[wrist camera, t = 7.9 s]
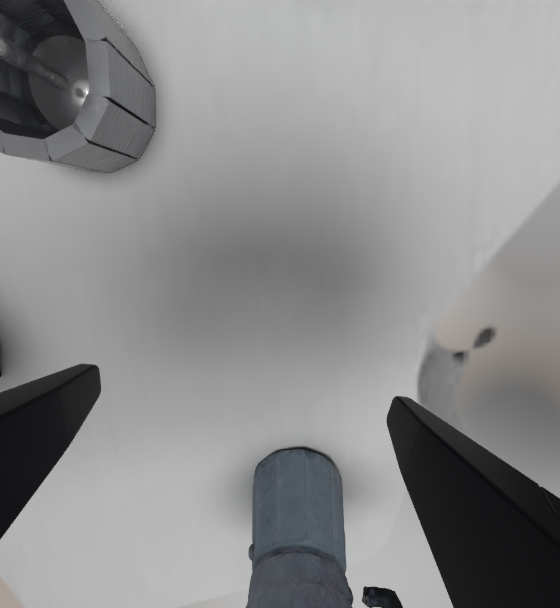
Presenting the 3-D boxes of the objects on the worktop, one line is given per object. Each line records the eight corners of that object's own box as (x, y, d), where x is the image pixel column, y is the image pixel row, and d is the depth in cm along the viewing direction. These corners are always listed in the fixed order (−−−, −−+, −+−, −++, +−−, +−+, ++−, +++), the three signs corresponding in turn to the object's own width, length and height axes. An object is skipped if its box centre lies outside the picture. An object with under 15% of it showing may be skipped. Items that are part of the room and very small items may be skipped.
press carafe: (27, 160, 17) (-64, 144, 13) (-9, -70, 14) (-154, -213, 9) (156, 180, 18) (114, 171, 13) (153, -37, 14) (95, -155, 10)
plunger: (42, 133, 16) (-176, 64, 8) (29, 33, 15) (-257, -171, 7) (124, 146, 17) (-12, 91, 9) (120, 49, 15) (-52, -126, 7)
